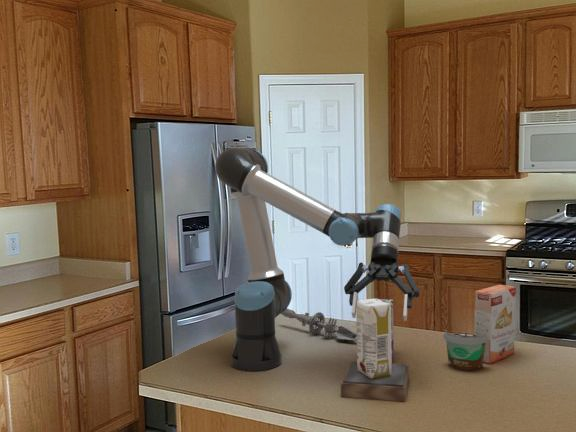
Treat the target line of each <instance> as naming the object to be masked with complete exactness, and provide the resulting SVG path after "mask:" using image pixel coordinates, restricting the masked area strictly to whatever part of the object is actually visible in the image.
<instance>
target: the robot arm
mask: <svg viewBox="0 0 576 432" xmlns="http://www.w3.org/2000/svg"><path fill="white" fill-rule="evenodd" d="M265 157H266V156H264V155H263V154H262V152H261V151H258V150H257V149H254V148H251V147H229V148H227V149H225V150H223V151H222V152H221V153H219V155H218V156H217V158H216V161H215V164H214V166H215V167H214V168H215V169H214V170H215V174H216V176H217V178H218V179H219V180H220V182H221V183H223V184H224V185H225V186H227V187H229V189H230V194H231V195H232V196H233V197H235V198H236V200H237V205H238V210H239V215H240V220H241V226H242V230H243V236H244V241H245V246H246V251H247V252H246V254H247V257H248V263H249V267H250V273H249V275H248V277H247V283H246V282H244V283H243V284H240V285H239V286H238V287H237V288H236V289H235V292H234V299H233V300H234V301H233V302H234V311H235V312H234V313H235V315H234V316H235V334H236V335H235V337H236V338H235V342H234V344H233V349H232V352H231V355H230V365H231V367H233V368H235V369H237V370H242V371H247V372H249V371H251V372H252V371H253V372H255V371H257V372H258V371H259V372H260V371H267V370H271V369H274V368H277V367H279V366H280V365H281V364H282V362H283V361H282V360H283V359H282V351H281V348H280V346H279V344H278V340H277V337H276V321H275V320H276V318H277V317H278V316H279V315H282V314H281V313H283V312H284V311H285V310H286V308H287V309H288V307H289V305H290V303H291V302H292V299H293V292H292V288H291V286H290V284H289V283H288V281H287V280H286V278H285V274H284V270H282V269H280V268H279V266H278V261H277V256H276V251H275V247H274V241H273V235H272V231H271V230H272V229H271V225H270V220H269V214H268V209H267V204H268V205H270V206H272V207H274V208H276V209H278V210H280V211H282V212H283V213H285V214H287V215H289V216H290V217H292V218H294V219H296V220H298V221H299V222H302V223H304V224H306V225H307V226H308V227H311V228H313V229H315V230H316V231H318V232H320V233H322V234H324V235H326V236H327V237H329V238H330V240H331V242H332V243H333V244H336V245H338V246H347V245H351V244H352V243H354V242H355V241H356V240H357V239H372V245H371V254H370V262H369V264H364V263H363V262H361V261H360V262H359V263H358V266H357V269H356V271H355V272H354V273H353V274H352V276H351V277H350V278H349V280H348V281H347V282H346V284H345V285H344V287H343V290H344V294H345V295H349V300H348V302H349V306H351V317H352V318H353V319H356V310H357V301H359V299H358V298H359V296H358V294H359V293H360V292H361V291H362V290H364V289H365V288H366V287H368V285H369V284H371V283H373V282H374V281H377V282H378V281H379V282H381V281H384V282H389V281H391V282H392V283H393V284H395V286H397V288H399V290H400V291H401V292H402V293H403V295H404V300H403V315H402V316H403V321H404V322H407V321H408V309H412V307H413V299H414V298H419V297H420V289H419V288H418V286H417V284H416V282H415V280H414V278H413V277H412V274H411V272H410V270H409V264H408V263H404V264H403V265H400V266H399V265H398V262H399V261H398V259H399V250H400V249H399V247H400V235H401V225H402V224H401V221H402V220H401V213H402V212H401V211H400V209H399V208H398V207H397V206H396V205H394V204H392V203H384V204H382V205H378V207H377V208H376V209H375V212H343V213H342V212H340V211H338V210H336V209H334V208H333V207H330V206H329V205H327V204H325V203H323V202H322V201H320V200H318V199H316V198H314V197H313V196H310V195H308V194H307V193H304V192H303V191H301V190H299V189H297V188H295V187H293V185H290V184H288V183H286V182H284V181H283V180H281V179H279V178H277V177H275V176H273V175H271V174H269V173H268V172H269V164H268V161H267V158H265ZM366 271H368V272H367V274H366V275H365V276H364V277H363V278H362V279H361V277H362V276H363V275H364V274H365V272H366ZM399 272H401V274H402V275H403V276H404V278H405V280H406V282H407V283H408V284H406V283H404V281H403V280H402V279H401V278H400V277H399V276H398V273H399ZM360 279H361V280H360ZM407 285H408V286H407Z"/></svg>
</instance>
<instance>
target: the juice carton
mask: <svg viewBox="0 0 576 432" xmlns="http://www.w3.org/2000/svg"><path fill="white" fill-rule="evenodd" d="M379 299H380V298H367V299H361V300H359V299H358V301H357V309H356V318H355V319H356V334H357V337H356V339H357V341H356V362H357V366H358V371H359V372H361V373H363V374H365V375H366V376H367V377H369V378H371V379H372V378H378V377H383V376H389V375H391V369H392V364H393V363H392V323H391V304H390V303H386V302H382V301H381V300H379Z"/></svg>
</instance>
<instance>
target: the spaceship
mask: <svg viewBox="0 0 576 432" xmlns="http://www.w3.org/2000/svg"><path fill="white" fill-rule="evenodd" d="M280 315H282V316H283V317H284V318H289V319H292V320H293V319H296V320H297V321H298V322H300V323H301V326H303V327H306V325H308V329H309V332H310V334H311V335H314V336H317V335H319V334H320V333H321V332H322V331H324V336H323V337H324V338H326V339H329V340H331V339H332V337H333V335H334V334H335V336H336V338H337V339H338V340H343V341H351V342H354V341H356V342H357V332H356V331H354V330H352V329H351V328H349V327H345V326H343V325H339V326H338V325H336V324H337V320H338V319H336V318H332V317H330V318H329V319H328V322H326V320H325V315H324V313H322V312H316V313H314V314H313V315H312V316H309V315H310V313H308V312H305V313H304V314H303V313H296V312H295V311H294V310H293V309H290V308H288V307H287V308H286V310H285V311H284V312H283V313H281V314H280ZM316 334H317V335H316Z"/></svg>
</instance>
